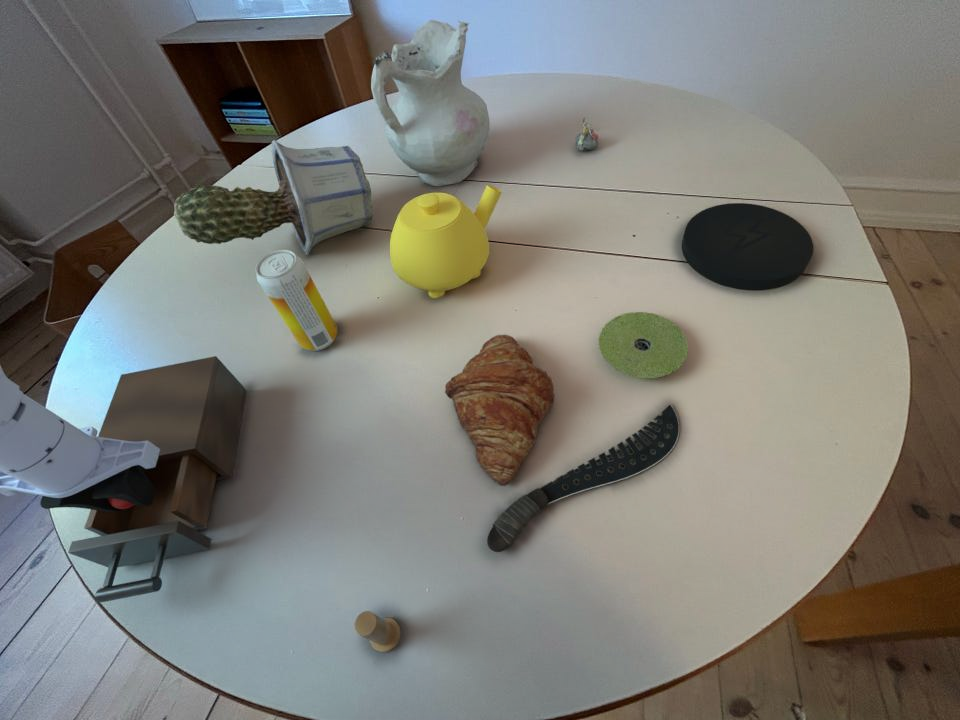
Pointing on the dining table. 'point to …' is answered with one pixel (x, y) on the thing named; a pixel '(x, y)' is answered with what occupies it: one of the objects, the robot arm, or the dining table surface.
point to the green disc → (643, 345)
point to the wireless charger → (747, 246)
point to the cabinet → (181, 411)
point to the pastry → (501, 404)
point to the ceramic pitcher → (432, 105)
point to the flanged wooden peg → (378, 630)
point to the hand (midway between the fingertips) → (135, 500)
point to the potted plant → (284, 200)
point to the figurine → (586, 138)
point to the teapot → (441, 241)
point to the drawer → (152, 526)
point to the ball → (120, 503)
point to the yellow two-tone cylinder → (296, 299)
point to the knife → (539, 498)
